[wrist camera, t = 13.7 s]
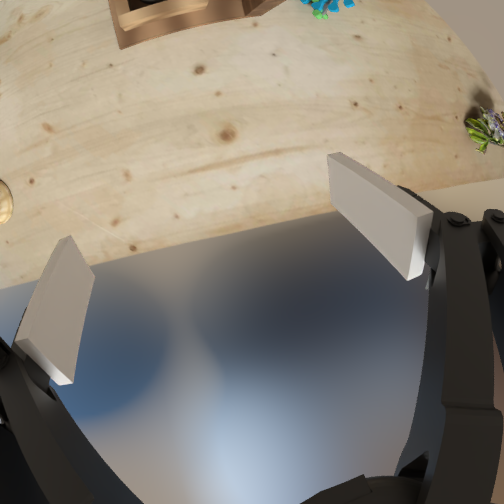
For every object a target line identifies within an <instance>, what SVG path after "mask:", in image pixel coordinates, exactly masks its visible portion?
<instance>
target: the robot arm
mask: <svg viewBox="0 0 504 504" xmlns="http://www.w3.org/2000/svg"><path fill="white" fill-rule="evenodd" d="M327 162H328V173H329V184H330V198H331V204H332V205H333V206H334V207H335V208H336V209H337V210H338V211H339V212H340V213H341V214H342V215H344V217H346V218H347V219H348V220H349V221H350V222H351V223H352V224H353V225H354V226H355V227H356V228H357V229H358V230H359V231H360V232H361V233H362V234H363V235H364V236H365V237H366V238H367V239H368V240H369V241H370V242H371V243H372V244H373V245H374V246H375V247H376V248H377V249H378V250H379V251H380V252H381V253H382V254H383V255H384V257H386V259H387V260H389V262H390V263H391V264H392V265H393V266H394V267H395V268H396V269H397V270H398V271H399V272H400V274H402V276H403V277H404V278H405V279H406V280H407V281H408V280H410V279H413V278H415V277H417V276H419V275H421V274H422V271H423V267H424V263H425V262H426V263H427V264H428V265H429V266H430V267H431V269H430V273H429V277H428V281H427V284H426V288H425V289H428V288H429V298H428V318H427V331H426V342H425V351H424V360H423V367H422V375H421V380H420V386H419V392H418V397H417V403H416V408H415V413H414V417H413V422H412V426H411V430H410V434H409V438H408V440H407V443H406V445H405V447H404V449H403V451H402V453H401V456H400V458H399V462H398V465H397V468H396V471H395V474H394V476H376V477H369V478H365V476H364V474H363V475H360V476H358V477H356V478H354V479H351V480H349V481H346V482H344V483H342V484H339V485H337V486H334V487H331V488H329V489H326V490H323V491H320V492H319V493H317V494H316V495H314V496H312V497H311V498H309V499H307V500H306V501H304V502H302V503H300V504H494V503H490V501H491V497H492V493H493V488H494V484H495V480H496V475H497V469H498V464H499V458H500V451H501V443H502V434H503V416H502V413H501V411H500V410H498V409H495V407H494V404H493V396H494V355H493V337H492V331H493V334H494V337H495V341H496V344H497V348H498V351H499V355H500V359H501V363H502V367H503V370H504V213H503V212H502V211H500V210H497V209H487V210H486V211H485V212H484V216H483V220H482V221H477V222H471V220H470V219H469V218H467V217H466V216H464V215H463V214H460V213H456V212H447V213H443V212H441V211H440V210H438V209H437V208H435V207H434V206H433V205H431V204H430V203H429V202H427V201H426V200H423V198H421V197H420V196H417V194H415V193H414V192H412V191H411V190H409V189H407V188H404V187H401V186H399V185H398V186H396V185H394V184H393V183H391V182H389V181H388V180H386V179H385V178H383V177H382V176H380V175H378V174H377V173H375V172H374V171H372V170H370V169H369V168H367V167H365V166H364V165H362V164H360V163H359V162H357V161H355V160H353V159H352V158H350V157H348V156H346V155H345V154H343V153H341V152H338V153H333V154H329V155H327ZM500 260H501V264H502V269H500V267H499V263H500ZM94 279H95V276H94V274H93V273H92V271H91V269H90V268H89V266H88V264H87V263H86V261H85V259H84V258H83V256H82V254H81V252H80V251H79V249H78V247H77V245H76V243H75V242H74V240H73V238H72V236H71V235H70V236H67V237H65V238H63V239H60V240H59V242H58V243H57V245H56V247H55V249H54V251H53V253H52V255H51V257H50V259H49V261H48V263H47V265H46V267H45V269H44V271H43V273H42V275H41V277H40V279H39V281H38V284H37V286H36V288H35V290H34V293H33V295H32V297H31V300H30V302H29V304H28V306H27V307H26V309H25V311H24V314H23V316H22V320H21V321H20V324H19V327H18V329H17V332H16V335H15V338H14V340H13V344H12V346H11V348H10V347H9V346H8V345H7V343H6V342H5V341H4V340H3V339H2V338H1V337H0V418H1V422H2V423H1V424H0V504H144V503H142V501H141V500H140V499H139V498H138V497H136V495H135V494H134V493H132V491H131V490H130V489H129V488H128V487H127V486H126V485H125V484H124V483H123V482H122V481H121V480H120V479H119V477H118V476H117V475H116V474H115V473H114V472H113V471H112V469H111V468H110V467H109V466H108V465H107V464H106V462H104V460H103V459H102V458H101V456H100V455H99V454H98V453H97V451H96V450H95V449H94V448H93V446H92V445H91V444H90V442H89V441H88V440H87V438H86V437H85V435H84V434H83V433H82V431H81V430H80V429H79V427H78V426H77V425H76V423H75V421H74V420H73V418H72V417H71V415H70V414H69V412H68V411H67V409H66V408H65V406H64V405H63V403H62V401H61V400H60V398H59V397H58V395H57V393H56V392H55V390H54V389H53V388H52V387H51V386H50V385H49V380H50V377H51V378H52V379H53V380H54V381H55V382H56V383H57V384H59V385H64V384H71V383H73V381H74V373H75V367H76V361H77V355H78V349H79V344H80V339H81V334H82V329H83V324H84V320H85V315H86V311H87V307H88V302H89V298H90V295H91V290H92V286H93V283H94Z"/></svg>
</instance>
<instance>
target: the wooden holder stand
mask: <svg viewBox="0 0 504 504" xmlns="http://www.w3.org/2000/svg"><path fill="white" fill-rule="evenodd" d="M108 1H109V6H110V10H111V15H112V19H113V23H114V27H115V32H116V36H117V40H118V44H119V47H120V49H121V50H122V49H125V48H127V47H130V46H133V45H136V44H139V43H141V42H144V41H147V40H150V39H154V38H157V37H160V36H163V35H167V34H170V33H174V32H178V31H181V30H185V29H189V28H193V27H198V26H202V25H207V24H212V23H217V22H222V21H228V20H233V19H240V18H247V17H254V16H261V15H263V14H265V13H266V12H268V11H269V10H271V9H273V8H274V7H276V6H277V5H279V4H281V3H282V2H284V1H286V0H167V1H163V2H159V3H156V4H153V5H148V4H145V3H143V2H141V1H140V0H108Z"/></svg>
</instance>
